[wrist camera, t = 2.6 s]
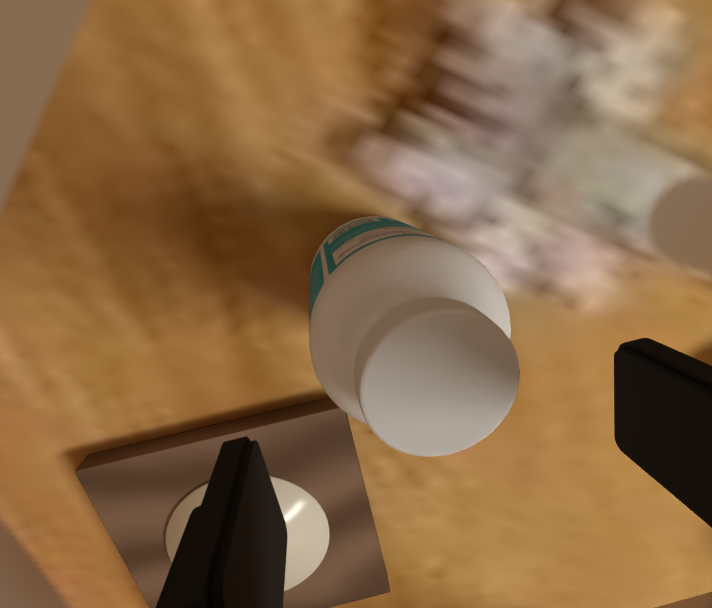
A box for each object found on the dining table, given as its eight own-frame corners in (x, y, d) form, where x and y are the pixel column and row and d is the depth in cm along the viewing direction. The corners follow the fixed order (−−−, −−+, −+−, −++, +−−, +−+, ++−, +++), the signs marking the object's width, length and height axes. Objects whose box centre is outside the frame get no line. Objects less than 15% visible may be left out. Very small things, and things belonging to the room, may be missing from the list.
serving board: (87, 454, 25) (72, 473, 24) (341, 394, 26) (343, 408, 24) (178, 626, 31) (171, 650, 29) (386, 573, 31) (390, 594, 30)
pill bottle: (385, 352, 25) (459, 530, 12) (286, 295, 23) (254, 435, 11) (454, 257, 24) (619, 348, 11) (354, 187, 22) (412, 199, 9)
